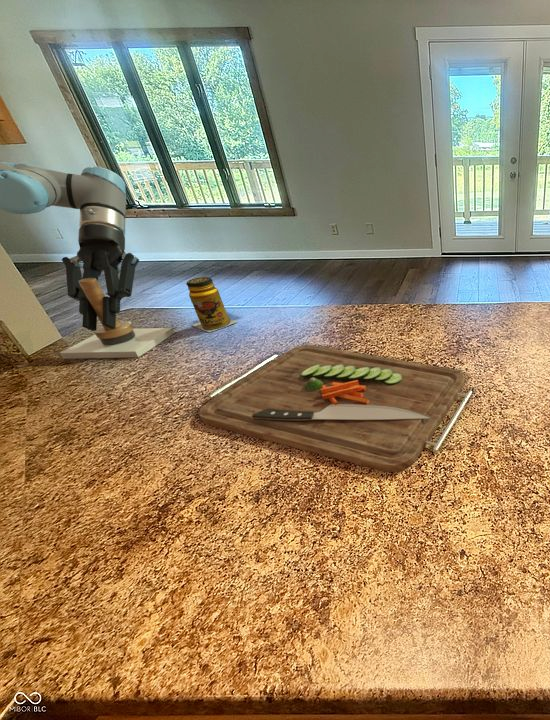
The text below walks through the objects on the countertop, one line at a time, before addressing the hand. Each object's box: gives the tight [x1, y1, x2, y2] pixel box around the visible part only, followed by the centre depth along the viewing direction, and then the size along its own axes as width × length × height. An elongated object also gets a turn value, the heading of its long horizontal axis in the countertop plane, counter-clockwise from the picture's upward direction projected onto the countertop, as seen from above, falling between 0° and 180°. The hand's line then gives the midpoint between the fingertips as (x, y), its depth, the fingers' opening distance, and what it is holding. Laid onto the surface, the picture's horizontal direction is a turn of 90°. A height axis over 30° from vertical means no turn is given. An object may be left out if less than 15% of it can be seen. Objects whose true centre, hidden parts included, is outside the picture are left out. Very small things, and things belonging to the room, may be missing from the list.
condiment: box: [186, 276, 239, 333], centre depth 95 cm, size 7×8×12 cm
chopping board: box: [198, 344, 473, 473], centre depth 69 cm, size 45×27×3 cm, turn 72°
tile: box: [59, 327, 175, 360], centre depth 88 cm, size 16×12×2 cm
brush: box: [78, 278, 135, 345], centre depth 84 cm, size 6×6×14 cm
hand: (99, 327), depth 82 cm, fingers closed on brush, 3 cm apart
